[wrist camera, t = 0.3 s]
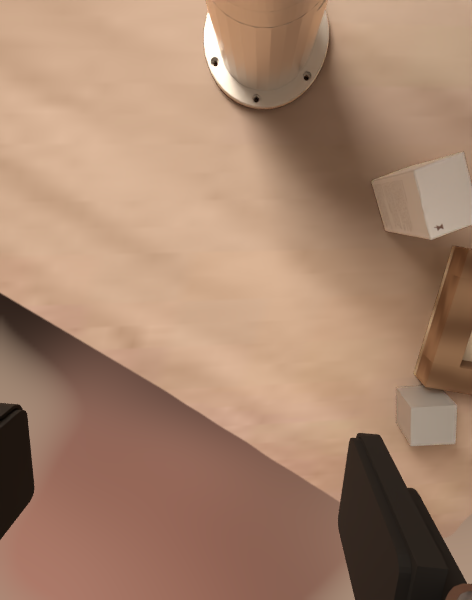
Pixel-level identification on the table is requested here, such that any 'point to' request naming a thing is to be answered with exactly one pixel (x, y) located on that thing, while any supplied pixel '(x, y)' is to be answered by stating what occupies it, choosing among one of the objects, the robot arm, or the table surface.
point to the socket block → (450, 330)
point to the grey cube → (426, 415)
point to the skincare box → (426, 198)
